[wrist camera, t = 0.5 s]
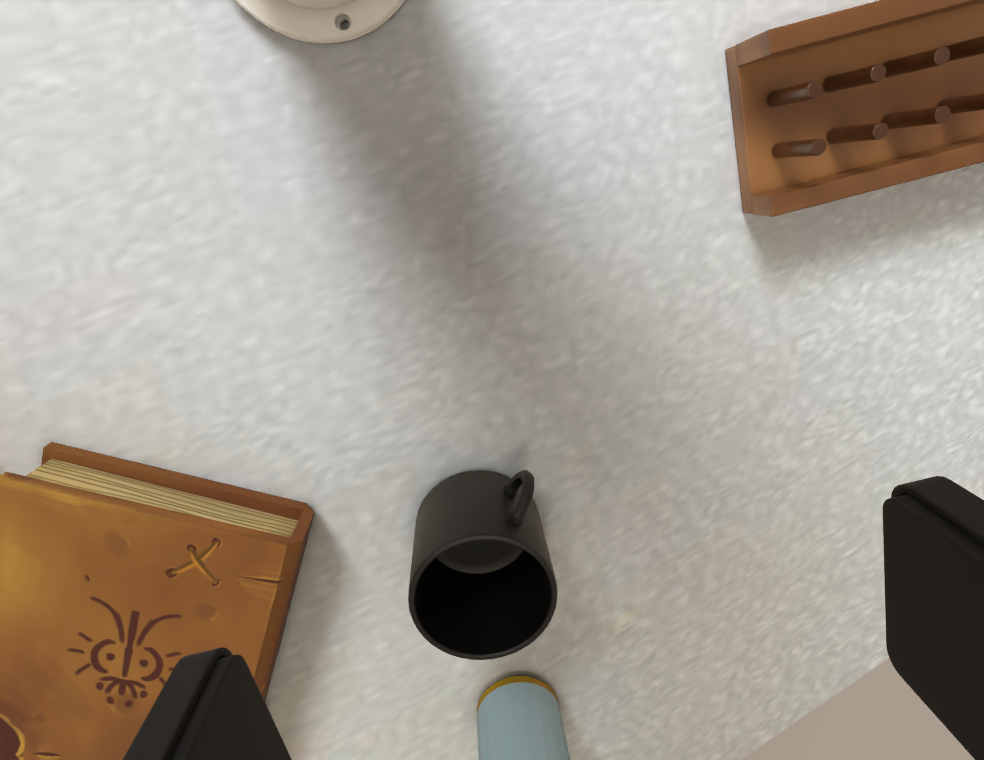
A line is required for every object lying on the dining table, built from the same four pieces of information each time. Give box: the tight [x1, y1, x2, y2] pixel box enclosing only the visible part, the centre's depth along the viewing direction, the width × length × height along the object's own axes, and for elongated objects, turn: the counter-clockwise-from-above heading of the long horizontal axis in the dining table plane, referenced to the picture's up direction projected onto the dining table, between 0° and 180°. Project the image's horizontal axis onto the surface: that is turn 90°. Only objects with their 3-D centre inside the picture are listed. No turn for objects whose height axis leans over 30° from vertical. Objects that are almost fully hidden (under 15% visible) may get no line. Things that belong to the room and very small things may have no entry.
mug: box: [408, 470, 557, 660], centre depth 43 cm, size 9×12×9 cm
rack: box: [725, 0, 984, 217], centre depth 36 cm, size 10×18×6 cm, turn 104°
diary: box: [0, 442, 314, 760], centre depth 45 cm, size 23×19×6 cm
